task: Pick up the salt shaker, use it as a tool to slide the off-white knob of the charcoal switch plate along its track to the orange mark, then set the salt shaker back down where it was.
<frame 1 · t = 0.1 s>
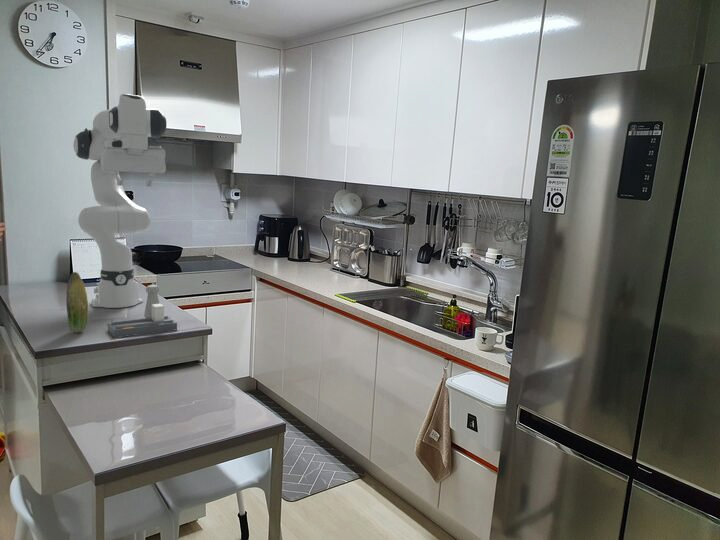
hand: (134, 185, 182), 48 cm above the table, tool pointing down, fingers open, 8 cm apart
vegetable: (78, 333, 175), on the table
switch plate: (143, 330, 181), on the table
slider knob: (157, 312, 183), point 5 cm above the table, slide at 5.0 cm
salt shaker: (153, 321, 192), on the table
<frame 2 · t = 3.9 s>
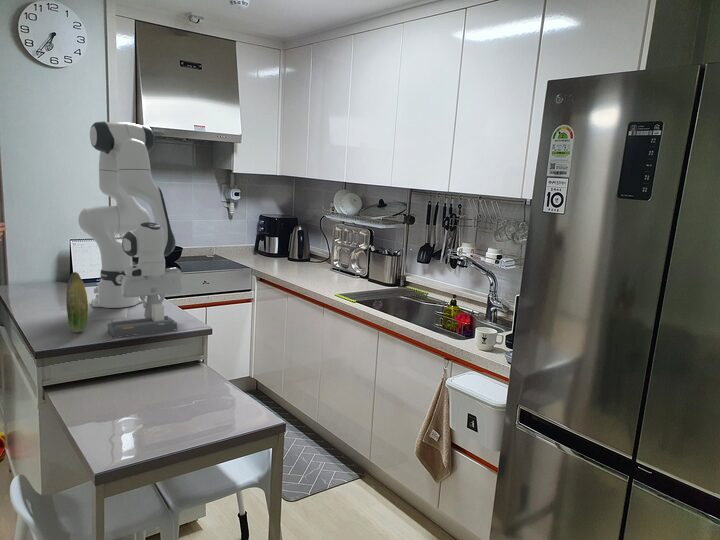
hand: (152, 307, 191), 5 cm above the table, tool pointing down, fingers closed on salt shaker, 3 cm apart
salt shaker: (153, 321, 192), on the table, touching gripper
everything else where it was.
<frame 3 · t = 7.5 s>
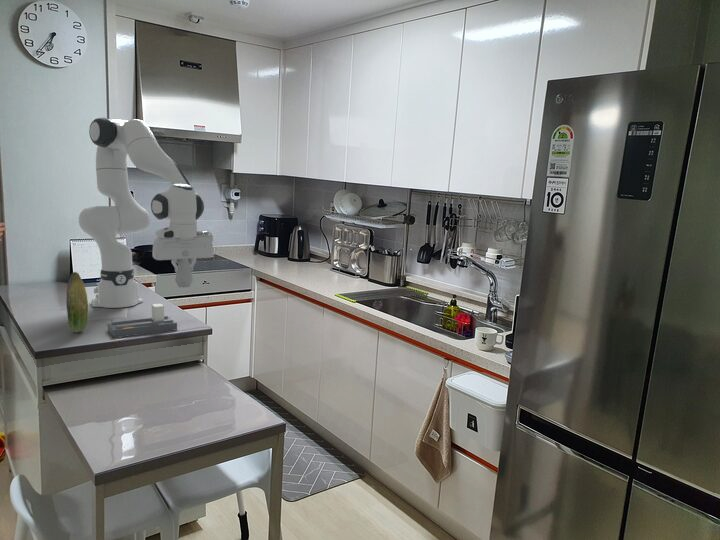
hand: (184, 271, 186), 19 cm above the table, tool pointing down, fingers closed on salt shaker, 3 cm apart
salt shaker: (184, 286, 186), point 14 cm above the table, touching gripper
everything else where it was.
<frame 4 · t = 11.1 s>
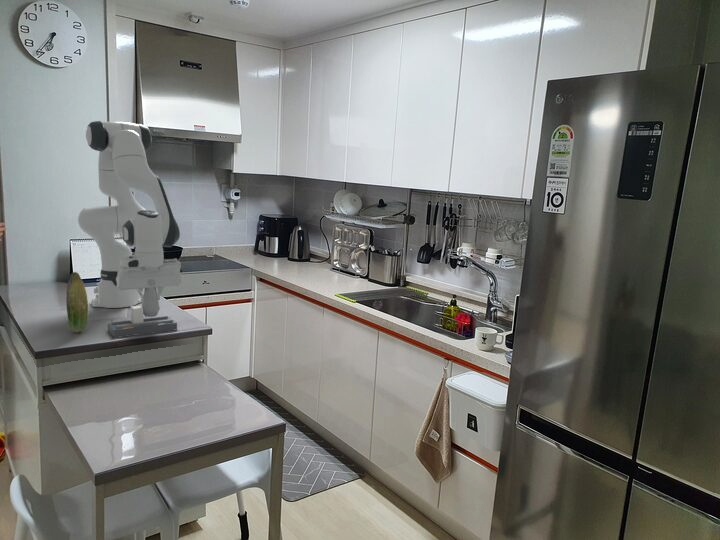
hand: (150, 300, 181), 10 cm above the table, tool pointing down, fingers closed on salt shaker, 3 cm apart
slider knob: (137, 315, 179), point 5 cm above the table, slide at -1.8 cm, touching salt shaker
salt shaker: (150, 315, 182), point 5 cm above the table, touching gripper, slider knob
everything else where it was.
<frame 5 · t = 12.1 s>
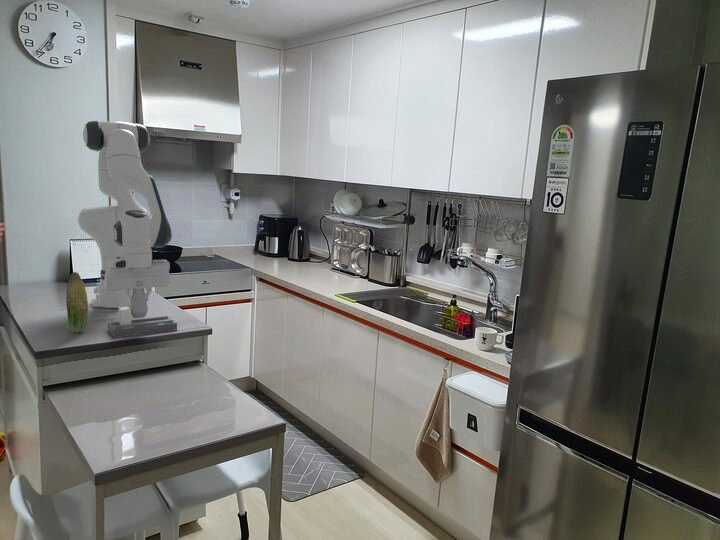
hand: (138, 301, 179), 10 cm above the table, tool pointing down, fingers closed on salt shaker, 3 cm apart
slider knob: (124, 316, 177), point 5 cm above the table, slide at -5.6 cm, touching salt shaker
salt shaker: (138, 317, 179), point 5 cm above the table, touching gripper, slider knob
everything else where it was.
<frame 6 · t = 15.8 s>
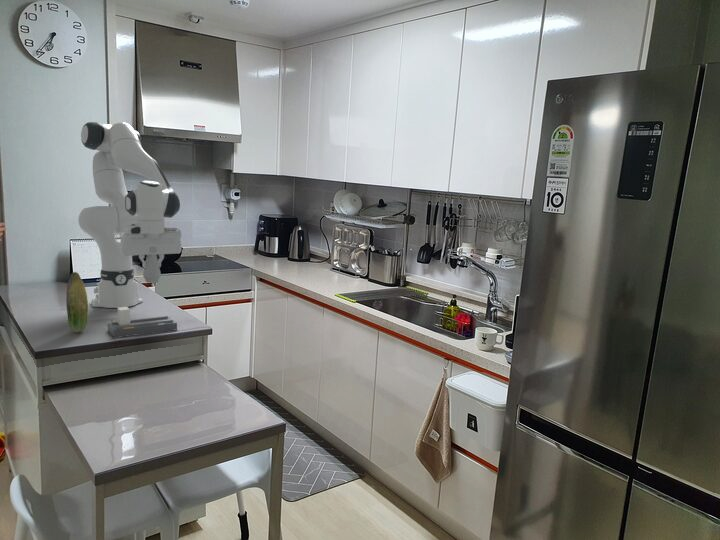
hand: (151, 267, 189), 20 cm above the table, tool pointing down, fingers closed on salt shaker, 3 cm apart
slider knob: (123, 316, 176), point 5 cm above the table, slide at -5.9 cm
salt shaker: (152, 282, 190), point 14 cm above the table, touching gripper
everything else where it was.
when the fingers open (7 cm above the table, at t = 18.7 s): salt shaker drops 1 cm, on the table.
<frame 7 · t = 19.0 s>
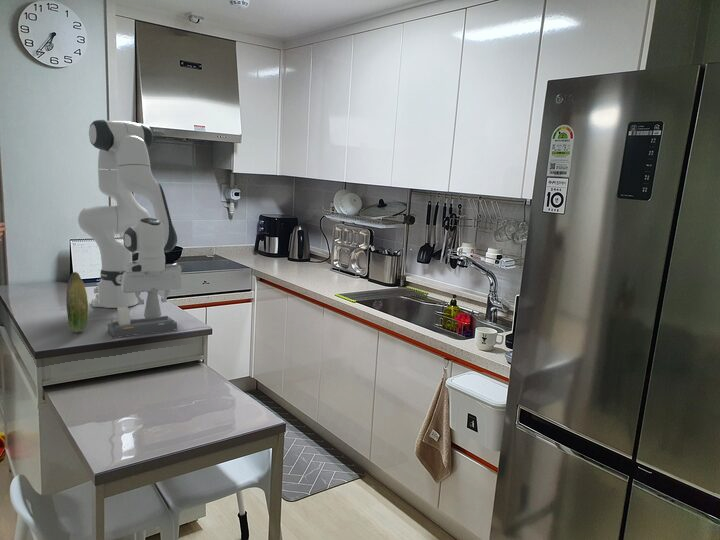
hand: (152, 303, 191), 7 cm above the table, tool pointing down, fingers open, 6 cm apart
salt shaker: (152, 321, 192), on the table
everything else where it was.
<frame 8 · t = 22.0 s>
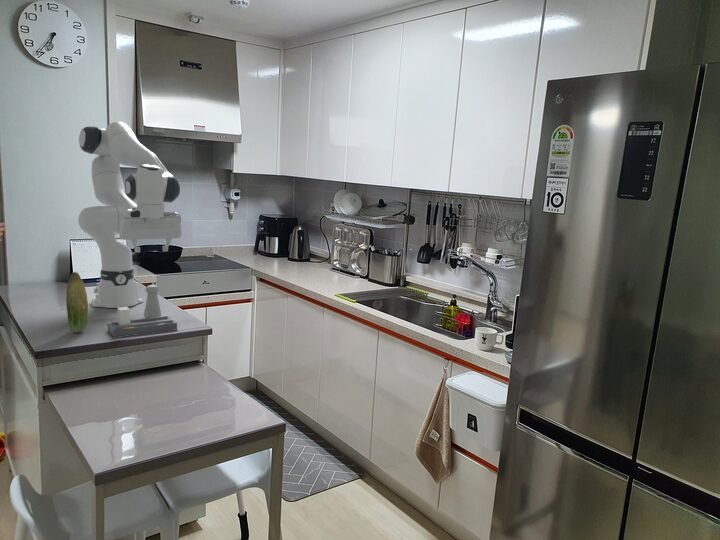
hand: (151, 251, 188), 25 cm above the table, tool pointing down, fingers open, 8 cm apart
nothing on the table moved.
at the end: slider knob slide at -5.9 cm; salt shaker inside the target area (0.1 cm from its centre), on the table; salt shaker tilted 0° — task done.
